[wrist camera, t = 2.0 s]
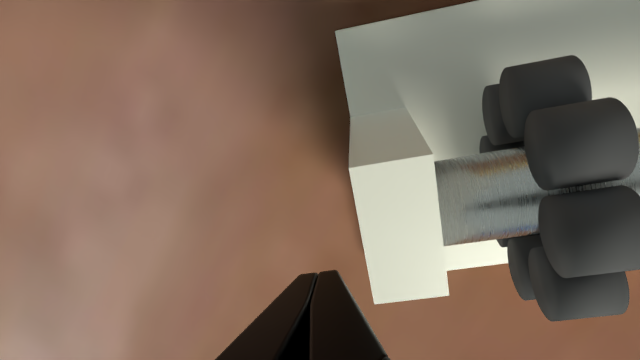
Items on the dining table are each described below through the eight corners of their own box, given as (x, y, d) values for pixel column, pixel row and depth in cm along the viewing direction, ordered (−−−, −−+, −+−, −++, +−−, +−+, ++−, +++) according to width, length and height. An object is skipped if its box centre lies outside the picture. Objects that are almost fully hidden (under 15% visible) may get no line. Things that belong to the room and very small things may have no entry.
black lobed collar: (521, 46, 13) (672, 72, 7) (527, 233, 16) (645, 380, 9) (472, 55, 13) (577, 89, 7) (485, 238, 16) (573, 385, 9)
